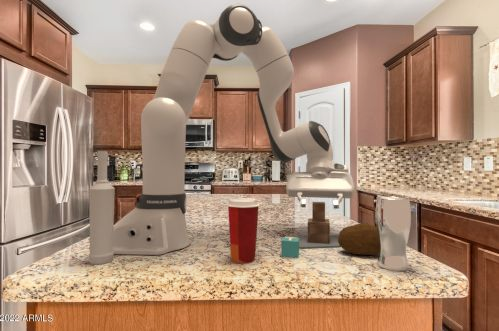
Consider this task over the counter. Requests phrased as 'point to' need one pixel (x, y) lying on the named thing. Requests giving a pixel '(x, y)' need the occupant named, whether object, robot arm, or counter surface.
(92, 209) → the bottle
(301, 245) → the grey mat
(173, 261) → the counter surface
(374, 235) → the potato
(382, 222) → the beer glass
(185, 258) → the counter surface
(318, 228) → the walnut cover
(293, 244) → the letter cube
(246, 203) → the paper cup
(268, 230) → the counter surface
